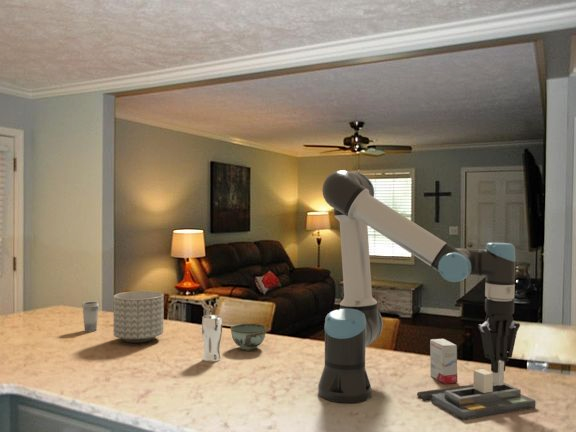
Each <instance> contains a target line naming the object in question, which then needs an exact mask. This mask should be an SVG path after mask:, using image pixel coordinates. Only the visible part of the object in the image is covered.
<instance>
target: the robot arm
mask: <svg viewBox="0 0 576 432" xmlns="http://www.w3.org/2000/svg"><path fill="white" fill-rule="evenodd" d="M321 192H322V195H323V196H322V197H323V198H324V201H325V202H326V203H327V204H328V205H329V206H330V207H331V208H332V209H333V216H334V218H335V219H337V220H338V222H339V231H340V232H339V235H340V236H339V237H340V250H341V264H342V266H341V267H342V280H343V282H342V284H343V295H344V296H343V299H342V300H341V301H340V302H339V309H334V310H331V311H329V313H327V315H326V316H325V319H324V321H325V322H324V326H323V328H324V366H323V369H322V373H321V376H320V379H319V382H318V384H317V385H318V387H317V388H318V389H317V393H318V395H319V396H320V398H323V399H324V400H328V401H329V402H330V401H331V402H335V403H342V404H355V403H356V404H357V403H361V402H364V401H367V400H369V399H370V398H372V385H371V382H370V379H369V376H368V372H367V370H366V348H367V347H368V346H369V345H371V344H373V343H374V342H375V341H376V340H377V339H378V338H379V336H380V335H381V333H382V331H383V326H384V325H383V324H384V323H383V317H382V315H381V313H380V311H379V308H378V301H377V300H376V299H375V298H374V297H373V294H372V293H373V291H372V289H373V288H372V278H371V277H372V275H371V262H370V260H371V258H370V244H369V230H368V229H369V228H368V227H370V228H371V229H373V230H374V231H376V232H377V233H378V234H381V235H382V236H383V237H385V238H387V239H388V240H389V241H391V242H393V243H394V244H396V245H397V246H399V247H400V248H402V249H404V250H405V251H407V252H408V253H410V254H411V255H413V256H415V257H416V258H417V259H419V260H421V261H422V262H424V263H425V264H427V265H428V266H429V267H431V268H432V269H434V270H435V271H437V272H439V275H440V276H441V277H442V278H443V279H444V280H446V281H448V282H450V283H451V282H452V283H457V282H463V281H464V280H465V279H467V278H468V277H469V276H475V277H476V276H477V277H485V285H484V286H485V288H484V289H485V290H484V296H485V297H486V298H485V300H484V311H485V313H486V316H485V319H484V322H483V323H482V324H481V323H479V324H477V328H478V330H479V332H480V336H481V341H482V348H483V352H484V357H485V359H488V360H490V370H491V371H490V372H491V373H493V383H495V384H497V385H504V383H505V382H504V380H505V372H506V363H507V362H509V361H510V358H512V356H513V352H514V350H515V349H514V347H515V343H516V340H517V339H516V338H517V334H518V331H519V328H520V327H521V324H520V323H519V322H516V321H515V320H514V318H513V315H514V313H515V301H514V299H515V289H516V288H515V287H516V262H517V261H516V247H515V245H514V244H512V243H509V242H487V243H486V246H485V248H482V249H481V248H480V249H478V248H477V249H476V248H462V247H461V248H459V247H454V246H452V245H450V244H448V243H447V242H446V241H445V240H443V239H441V238H439V237H438V236H436V235H435V234H433V233H432V232H430V231H428V230H426V229H425V228H423V227H422V226H420V225H418V224H417V223H415V222H414V221H412V220H410V219H409V218H407V217H406V216H404V215H403V214H401V213H400V212H398V211H396V210H395V209H393V208H392V207H390V206H388V205H387V204H385V203H383V201H380V200H379V199H378V198H375V187H374V184H373V183H372V181H371V180H370V179H369V177H367V176H365V175H364V174H363V173H360V172H357V171H355V172H354V171H353V172H352V171H349V170H344V169H343V170H337V171H334V172H331V173H330V174H329V175H328V176H327V177H326V178H325V179H324V181H323V184H322V191H321Z"/></svg>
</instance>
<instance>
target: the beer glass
mask: <svg viewBox="0 0 576 432" xmlns="http://www.w3.org/2000/svg"><path fill="white" fill-rule="evenodd" d="M222 323H223V321H222V316H221V315H219V314H205V315H203V316H202V322H201V337H202V342H203V357H202V360H203V361H204V362H206V363H215V362H218V361H220V360H221V359H222V357H221V352H220V345H221V340H222V335H223V334H222V333H223V324H222Z"/></svg>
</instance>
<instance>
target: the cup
mask: <svg viewBox="0 0 576 432" xmlns="http://www.w3.org/2000/svg"><path fill="white" fill-rule="evenodd" d="M99 306H100V304H99V301H95V300H94V301H92V300H91V301H84V302H83V303H82V304H81V307H82V315H83V317H82V318H83V325H84V332H86V333H90V332H91V333H92V332H96V331H97V326H98V317H99Z"/></svg>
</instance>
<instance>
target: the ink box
mask: <svg viewBox="0 0 576 432" xmlns="http://www.w3.org/2000/svg"><path fill="white" fill-rule="evenodd" d="M429 342H430V343H429V348H430V353H429V354H430V355H429V356H430V357H429V358H430V359H429V360H430V363H429V364H430V366H429V367H430V368H429V371H430V377H432V378H433V379H435V380H437V381H439V382H441V383H442V384H445V385H446V384H454V383H458V351H457V350H458V347H457V344H455V343H453V342H451V341H449V340H447V339H445V338H432V339H430V341H429Z"/></svg>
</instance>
